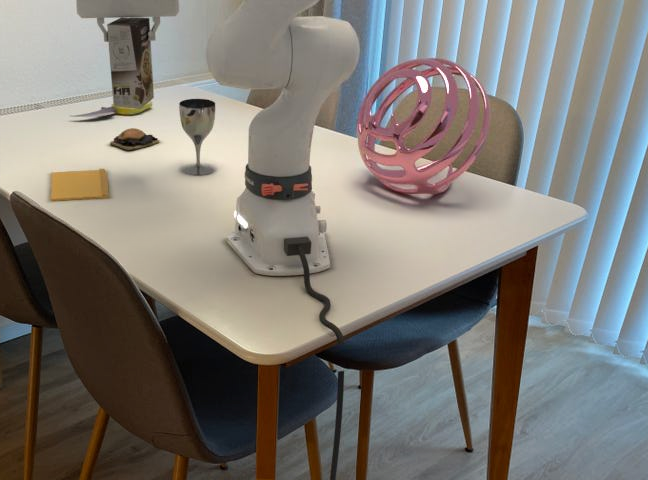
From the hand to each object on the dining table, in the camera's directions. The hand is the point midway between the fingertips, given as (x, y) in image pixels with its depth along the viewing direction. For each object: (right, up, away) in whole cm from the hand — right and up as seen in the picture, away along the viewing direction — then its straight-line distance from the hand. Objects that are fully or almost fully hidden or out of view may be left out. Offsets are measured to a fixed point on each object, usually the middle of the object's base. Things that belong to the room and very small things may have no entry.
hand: (130, 40), depth 156 cm
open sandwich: (-4, -11, +36) cm, 38 cm away
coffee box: (0, -10, +7) cm, 13 cm away
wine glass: (+13, -21, +21) cm, 33 cm away
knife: (-13, +3, +57) cm, 58 cm away
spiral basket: (+59, -27, +14) cm, 67 cm away
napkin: (-13, -27, +12) cm, 32 cm away
